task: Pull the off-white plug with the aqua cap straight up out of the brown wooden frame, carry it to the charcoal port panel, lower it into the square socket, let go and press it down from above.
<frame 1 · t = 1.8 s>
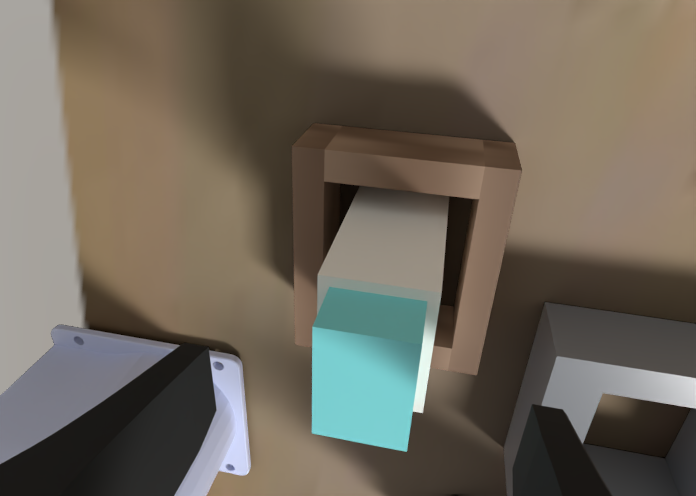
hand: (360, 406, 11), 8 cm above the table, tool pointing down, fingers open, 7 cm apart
port panel: (627, 399, 20), on the table
brown wooden frame: (400, 234, 19), on the table
plug: (400, 234, 19), resting in brown wooden frame
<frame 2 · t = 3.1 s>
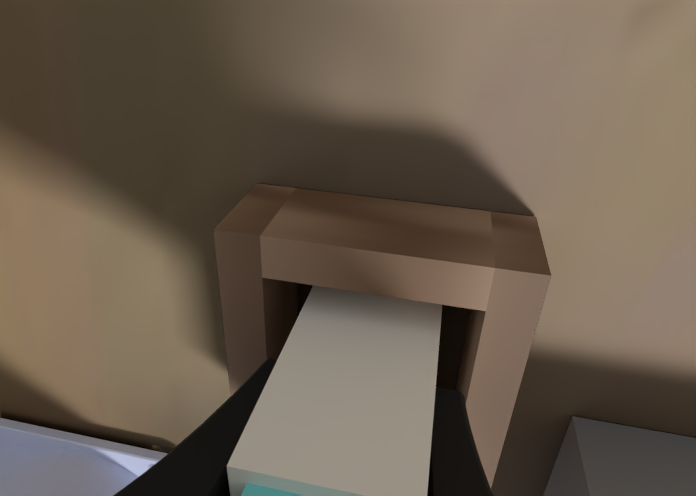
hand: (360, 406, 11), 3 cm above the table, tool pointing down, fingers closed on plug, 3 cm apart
brown wooden frame: (379, 326, 14), on the table
plug: (379, 326, 14), resting in brown wooden frame, touching gripper
when the fingers open (4 cm above the table, at t = 6.7 s): plug stays where it is, resting in port panel.
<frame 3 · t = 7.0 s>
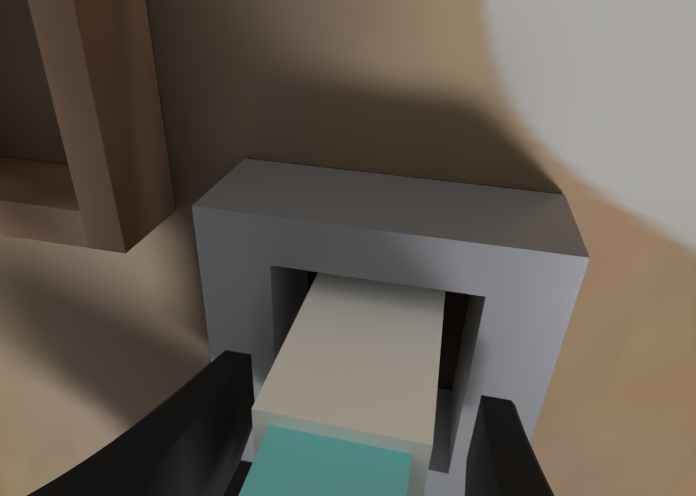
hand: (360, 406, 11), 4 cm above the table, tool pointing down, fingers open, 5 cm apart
port panel: (384, 305, 15), on the table
brown wooden frame: (38, 62, 13), on the table
plug: (386, 300, 15), resting in port panel
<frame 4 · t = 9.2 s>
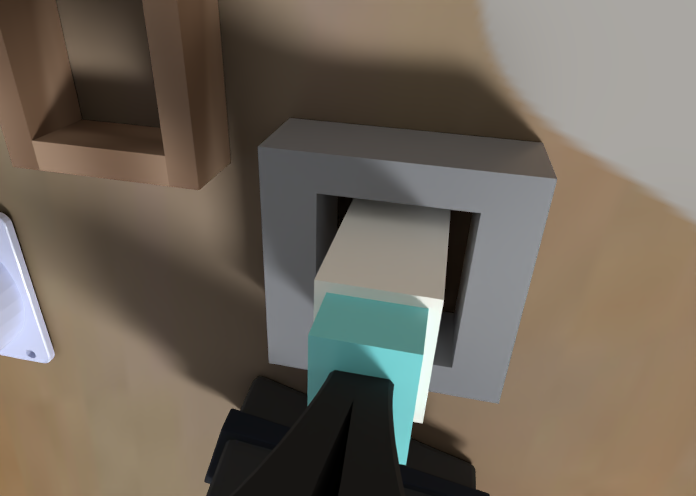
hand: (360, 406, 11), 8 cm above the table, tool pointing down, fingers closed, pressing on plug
port panel: (400, 240, 18), on the table
black piece: (379, 443, 24), on the table
brown wooden frame: (126, 41, 17), on the table
plug: (401, 236, 18), resting in port panel, touching gripper
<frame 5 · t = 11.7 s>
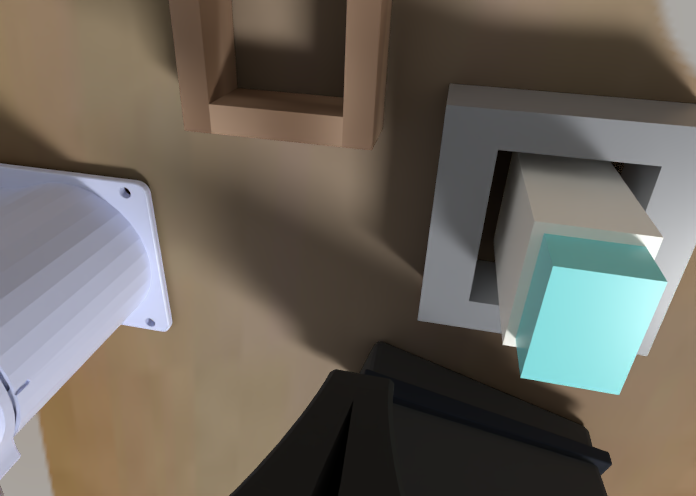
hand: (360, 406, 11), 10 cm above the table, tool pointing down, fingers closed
port panel: (543, 202, 19), on the table
black piece: (490, 407, 25), on the table
brown wooden frame: (295, 10, 18), on the table
plug: (544, 198, 19), resting in port panel
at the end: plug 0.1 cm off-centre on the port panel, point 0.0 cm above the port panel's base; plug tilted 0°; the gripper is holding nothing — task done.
